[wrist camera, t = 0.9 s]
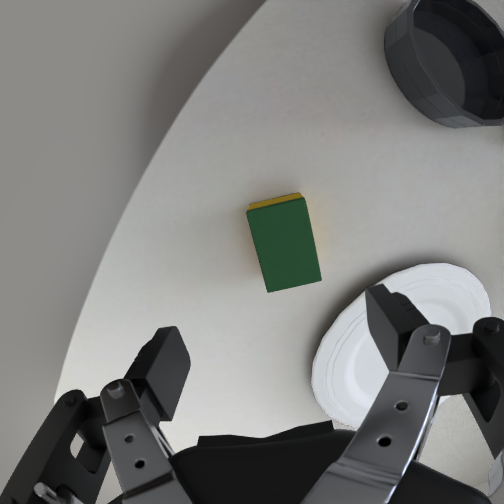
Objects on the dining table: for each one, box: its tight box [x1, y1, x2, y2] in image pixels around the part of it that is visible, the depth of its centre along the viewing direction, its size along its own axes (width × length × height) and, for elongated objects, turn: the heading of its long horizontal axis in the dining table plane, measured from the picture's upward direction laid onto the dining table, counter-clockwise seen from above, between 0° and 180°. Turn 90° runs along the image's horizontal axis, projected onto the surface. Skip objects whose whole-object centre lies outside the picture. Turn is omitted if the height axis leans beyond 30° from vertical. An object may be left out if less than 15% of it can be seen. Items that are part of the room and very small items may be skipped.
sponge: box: [246, 193, 322, 293], centre depth 22 cm, size 6×4×4 cm, turn 15°
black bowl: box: [384, 0, 504, 128], centre depth 16 cm, size 12×12×5 cm
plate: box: [311, 262, 491, 428], centre depth 26 cm, size 21×21×2 cm
